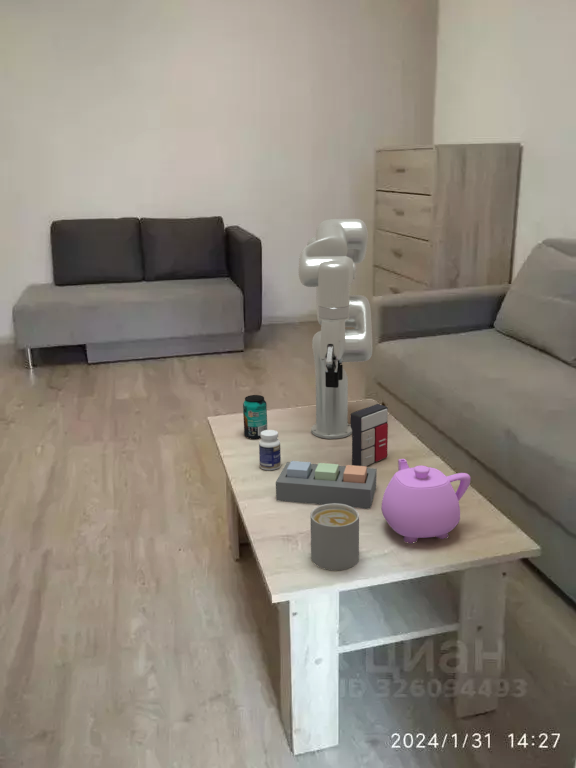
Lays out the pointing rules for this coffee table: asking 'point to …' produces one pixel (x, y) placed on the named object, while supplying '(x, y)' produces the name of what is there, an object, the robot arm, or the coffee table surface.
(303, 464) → the slate button
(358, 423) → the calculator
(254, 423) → the teal supplement jar
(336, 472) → the sage button
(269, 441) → the pill bottle
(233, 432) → the coffee table surface
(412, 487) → the teapot
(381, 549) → the coffee table surface
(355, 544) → the coffee mug
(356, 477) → the terracotta button
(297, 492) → the button housing
